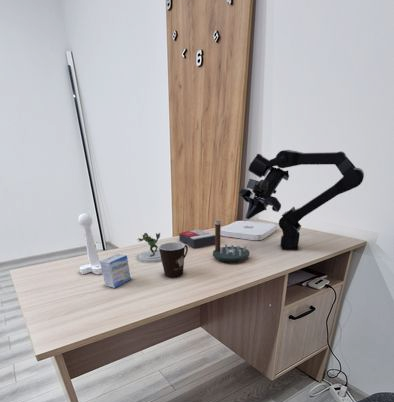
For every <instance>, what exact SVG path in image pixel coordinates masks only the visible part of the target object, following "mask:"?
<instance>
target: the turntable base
mask: <svg viewBox="0 0 394 402" xmlns="http://www.w3.org/2000/svg"><path fill="white" fill-rule="evenodd" d="M217 260H218V261H220V262H222V263H227V264H236V263H241V262H242V261H244V260H245V259H243V260H238V261H224V260H219V259H217Z"/></svg>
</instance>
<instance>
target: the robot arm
mask: <svg viewBox="0 0 394 402" xmlns="http://www.w3.org/2000/svg"><path fill="white" fill-rule="evenodd" d="M303 165H304V166H305V165H308V166H309V165H318V166H319V165H334V166H335V167H336V168H337V170H338V171H339V172H340V174H341V175H342V177H341V178H340V179H339V180H338V181H336V182H335V183H334V185H332V186H330V187H329V188H326V190H324V191H322V192H321V193H320V194H318V195H316V196H315V197H314V198H312V199H310V200H309V201H308V202H306V203H304V204H303V205H302V206H300V207H297V208H296V207H295V206H292V207H291V208H290V209H289V210H287V211H285V212H283V213H282V214H281V217H280V218H279V220H278V226H279V228H280V229H281V231H282V235H281V236H280V243H279V245H280V248H281V250H282V251H283V250H284V251H286V250H287V251H298V250H299V242H300V234H301V233H300V230H301V228H302V225H301V223H299V222H300V221H301V220H302V219H304V217H306V216H307V215H309V214H311V213H312V212H314V211H315V210H317V209H318V208H319V207H321V206H323V205H324V204H326V203H328V202H329V201H331V200H333V198H335V197H337V196H339V195H341V194H344V193H346V192H349V191H352V190H353V189H355V188H357V187H359V186H361V184H362V183H363V181H364V179H365V172H364V170H363V169H362V168H360V167H356V166H355V165H354V163H353V162H352V161H351V160H350V158H349V157H348V156H347V154H346V153H345V152H344V151H331V152H329V151H328V152H302V151H298V150H292V149H284V150H280V151H279V152H278V153H277V154H276V156H275V157H274V158H271V159H268V158H267V157H265V156H263V154H261V153H257V154H256V156H255V157H254V158H253V159H252V161H251V162H250V163H249V167H248V170H247V171H248V172H250V173H252V174H253V175H255V176H257V177H258V178H260V180H256V179H252V178H249V179H248V181H247V184H246V188H241V189H240V190H239V192H238V194H239V196H240V197H241V198H242V199H243V200H244V201H245V202H246V203H248V207H247V211H246V214H245V219H246V220H250V219H252V218H253V217H255V216H257V215H258V214H260V213H263V212H264V211H267V210H268V209H267V207H268V206H271V210H272V211H273V212H276V213H279V212H280V210H281V208H282V204H281V202H280V201H279V199H278V198H277V197H276V196H274V195H275V194H276V193H277V190H276V189H277V188H278V186H279V185H280V184H281V182H282V180H285V181H289V178H290V174H289V170H284V169H287V168H291V167H296V166H297V167H298V166H303ZM263 177H264V179H261V178H263ZM272 195H273V196H272Z"/></svg>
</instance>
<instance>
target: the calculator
mask: <svg viewBox="0 0 394 402" xmlns="http://www.w3.org/2000/svg"><path fill="white" fill-rule="evenodd" d="M178 239H179V241H180V242H181V243H184V244H187V245H189V246H190V247H191V248H193V249H197V248H202V247H207V246H213V245H215V234H212V233H210V232H208V231H205V230H202V229H193V230H188V231H183V232H182V231H181V232H180V233H178Z"/></svg>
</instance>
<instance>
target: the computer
mask: <svg viewBox="0 0 394 402" xmlns="http://www.w3.org/2000/svg"><path fill="white" fill-rule="evenodd" d="M276 231H277V225H276V224H274V223H268V222H267V223H266V222H258V221H249V220H236V221H233V222H231V223H229V224H227V225H225V226H223V227H221V233H220V237H221V236H222V237H226V238H227V237H228V238H235V239H243V240H250V241H262V240H264V239H265V238H267V237H269V236H270V235H272V234H273V233H275V232H276Z"/></svg>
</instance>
